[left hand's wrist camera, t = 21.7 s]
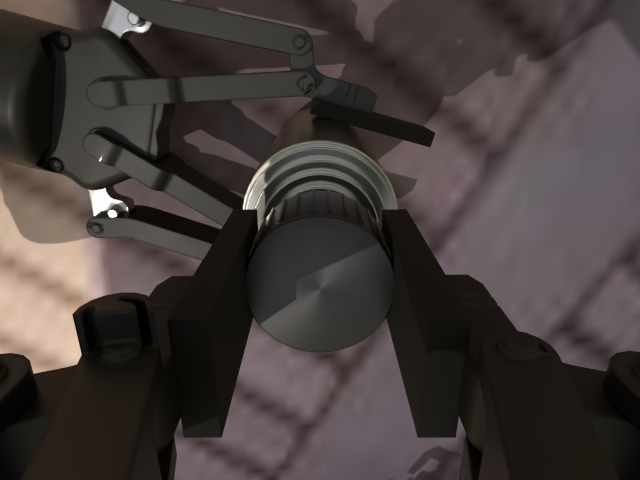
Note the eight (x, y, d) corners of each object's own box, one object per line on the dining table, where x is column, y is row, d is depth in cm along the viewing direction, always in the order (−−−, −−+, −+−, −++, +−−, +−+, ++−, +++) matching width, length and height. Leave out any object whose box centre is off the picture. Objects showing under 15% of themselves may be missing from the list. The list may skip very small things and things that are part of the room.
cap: (232, 220, 14) (213, 254, 11) (353, 166, 13) (361, 188, 11) (290, 324, 15) (284, 373, 13) (403, 278, 15) (419, 322, 12)
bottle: (265, 177, 32) (189, 333, 13) (291, 92, 30) (244, 137, 11) (345, 203, 33) (380, 387, 14) (376, 123, 30) (465, 212, 12)
